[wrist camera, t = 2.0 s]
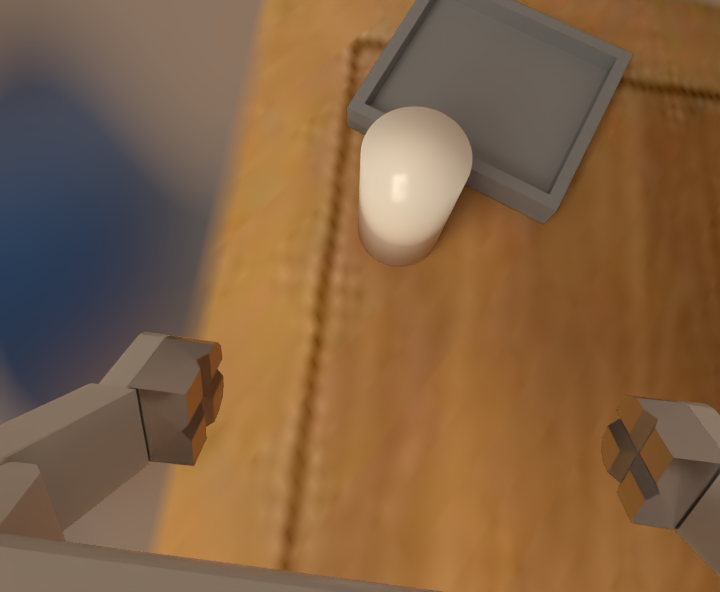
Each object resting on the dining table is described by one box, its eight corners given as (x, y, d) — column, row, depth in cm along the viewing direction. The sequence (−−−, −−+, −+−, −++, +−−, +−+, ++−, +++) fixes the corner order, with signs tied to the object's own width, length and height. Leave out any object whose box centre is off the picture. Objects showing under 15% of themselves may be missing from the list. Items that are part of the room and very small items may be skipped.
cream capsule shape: (452, 214, 38) (490, 136, 28) (415, 281, 37) (441, 226, 26) (382, 178, 39) (393, 89, 28) (343, 242, 37) (340, 174, 27)
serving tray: (616, 75, 42) (632, 54, 39) (543, 224, 38) (556, 211, 36) (433, -9, 43) (438, -34, 41) (347, 126, 40) (347, 107, 37)
